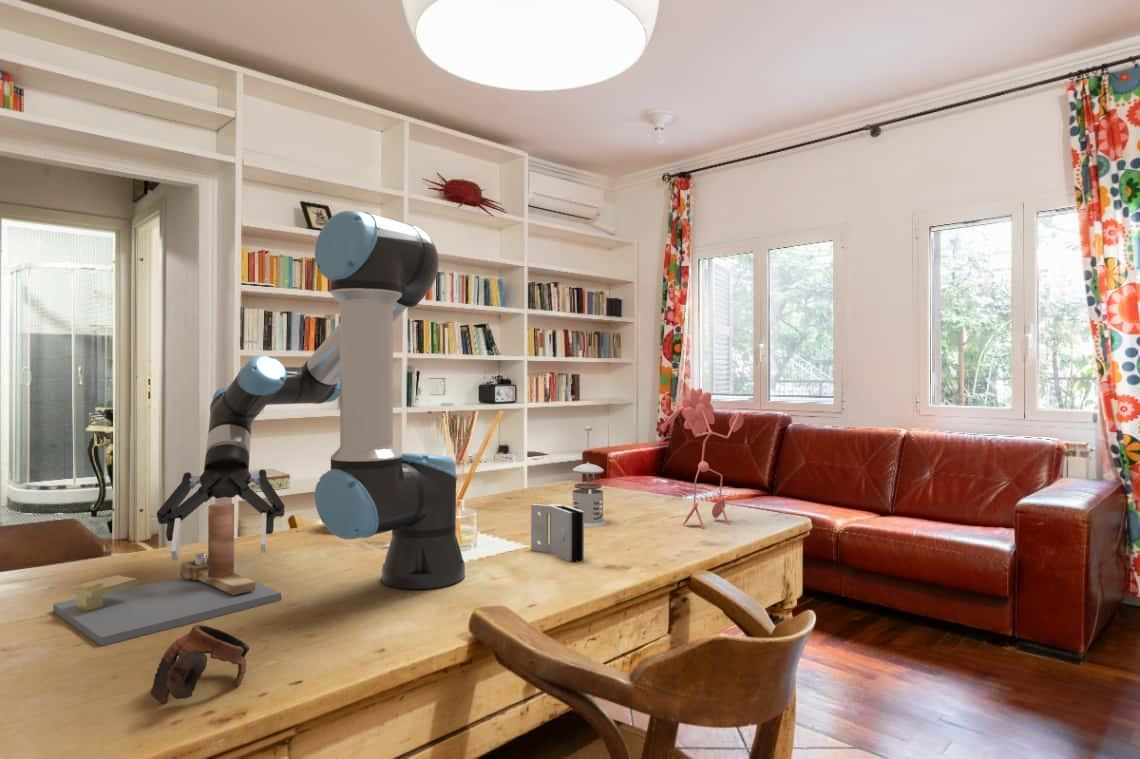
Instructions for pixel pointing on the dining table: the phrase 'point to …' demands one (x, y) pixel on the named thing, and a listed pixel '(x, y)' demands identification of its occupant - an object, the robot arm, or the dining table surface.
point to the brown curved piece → (195, 661)
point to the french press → (589, 501)
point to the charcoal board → (158, 608)
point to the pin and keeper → (109, 587)
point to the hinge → (558, 531)
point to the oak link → (219, 554)
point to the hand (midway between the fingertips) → (219, 552)
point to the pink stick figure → (697, 420)
